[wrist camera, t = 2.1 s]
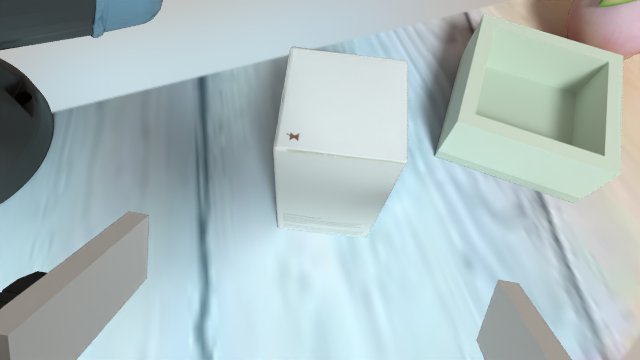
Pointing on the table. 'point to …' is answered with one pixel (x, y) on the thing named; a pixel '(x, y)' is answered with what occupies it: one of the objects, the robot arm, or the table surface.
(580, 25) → the decorative fruit
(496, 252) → the table surface
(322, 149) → the supplement box
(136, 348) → the table surface
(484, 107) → the open square container
